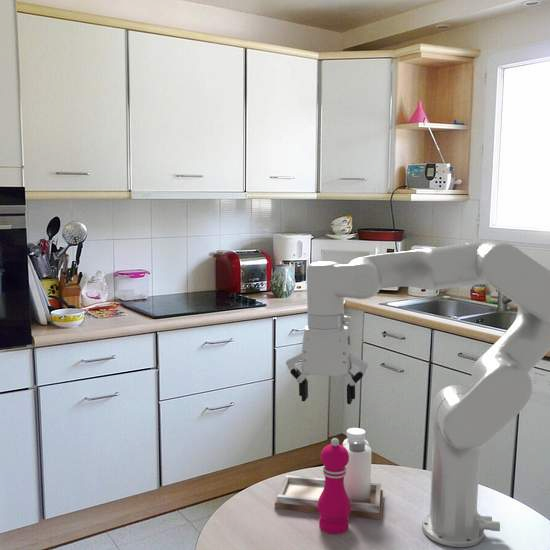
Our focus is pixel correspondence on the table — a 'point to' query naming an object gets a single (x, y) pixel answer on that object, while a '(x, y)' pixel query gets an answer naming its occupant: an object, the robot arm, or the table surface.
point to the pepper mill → (334, 490)
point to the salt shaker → (358, 471)
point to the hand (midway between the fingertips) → (327, 400)
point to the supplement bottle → (355, 435)
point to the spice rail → (307, 491)
